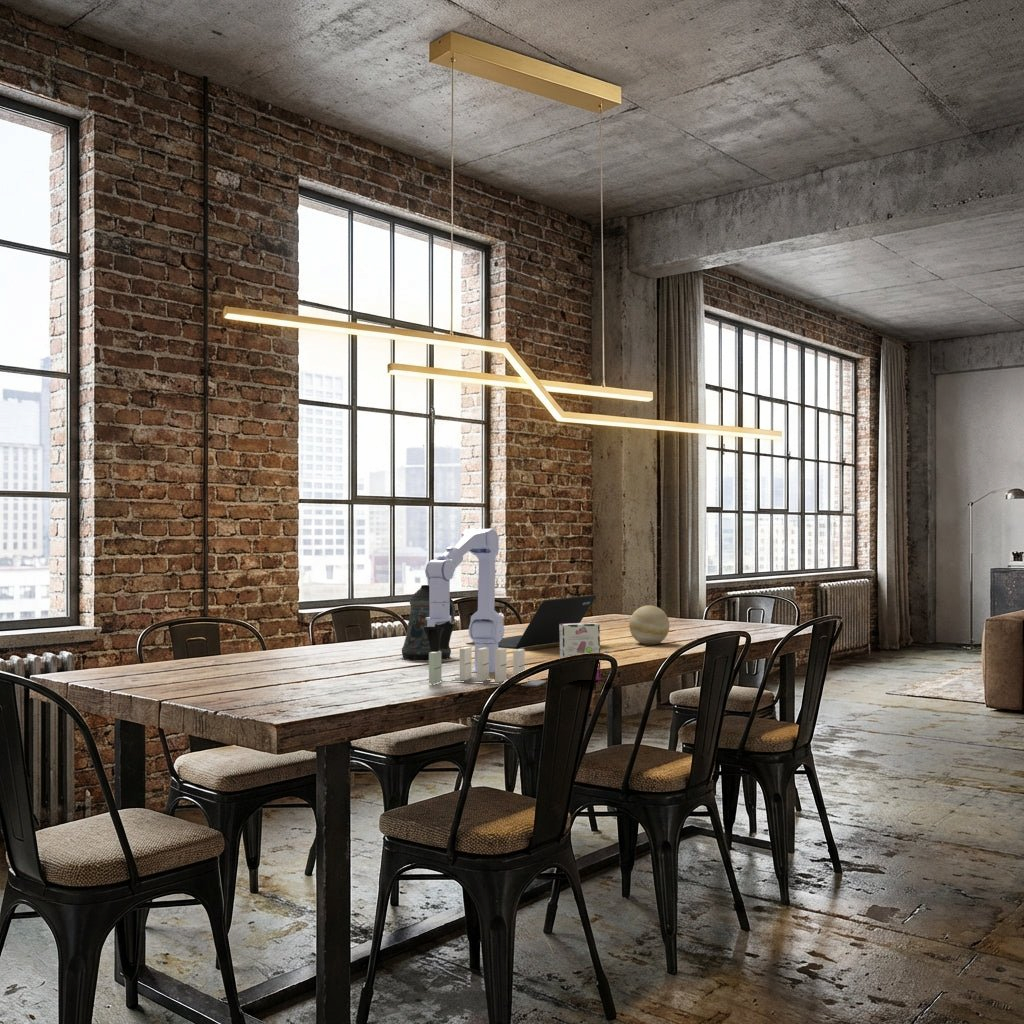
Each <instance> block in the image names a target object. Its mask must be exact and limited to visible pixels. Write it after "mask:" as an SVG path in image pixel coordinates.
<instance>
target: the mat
mask: <svg viewBox="0 0 1024 1024" xmlns="http://www.w3.org/2000/svg"><path fill="white" fill-rule="evenodd" d="M471 677H472V678H470V679H467V680H460V676H458V677H454V678H455V680H452V681H464V682H483V683H499V684H501V683H503V682H504V681H502V682H490V681H491V680H484V681H477V676H471ZM530 680H531V681H530V682H527V683H525V684H521V687H540V686H541V685H544V684H546V683H547V682H546V681H547V680H543V679H530Z"/></svg>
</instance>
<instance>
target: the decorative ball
mask: <svg viewBox="0 0 1024 1024" xmlns="http://www.w3.org/2000/svg"><path fill="white" fill-rule="evenodd" d="M628 626H629V632H630V634H631V636H632V637H633V638H634V640H635V641H636V642H638V643H639V644H640V645H648V646H649V645H650V646H651V645H652V646H653V645H658V644H660V643H662V642H663V641H664V640H665V639H666V638H667V636H668V634H669V631H670V620H669V617H668V615H667V614H666V613H665V611H664V610H663V609H661V607H658V606H656V605H655V606H654V605H651V604H650V605H642V606H641V607H640V606H639V608H637V609H636V610H635V611H633V613H632V615H631V616H630V619H629V625H628Z"/></svg>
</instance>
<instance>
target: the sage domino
mask: <svg viewBox="0 0 1024 1024" xmlns="http://www.w3.org/2000/svg"><path fill="white" fill-rule="evenodd" d="M442 677H443V676H442V660H441V651H439V652H430V653H429V661H428V680H429V681H428V684H429V683H431V684H434V683H437V682H440V681H442V679H443V678H442Z"/></svg>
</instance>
